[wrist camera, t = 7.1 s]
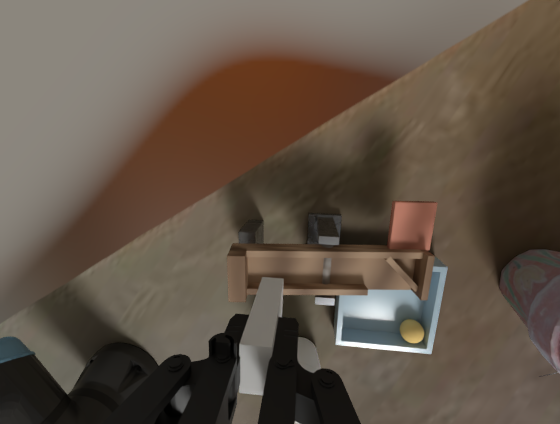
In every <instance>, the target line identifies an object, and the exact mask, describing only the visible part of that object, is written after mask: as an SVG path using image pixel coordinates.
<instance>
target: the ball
mask: <svg viewBox="0 0 560 424" xmlns="http://www.w3.org/2000/svg"><path fill="white" fill-rule="evenodd" d="M400 334H401V336H402V337H403V338H404V339H405V340H406V341H407V342H410V343H419V342H420V341H421V340H422V339H423V337H424V329H423V327H422V326H421V324H420V323H419V322H417V321H415V320H413V319H407V320H404V321H403V322H402V323H401V325H400Z"/></svg>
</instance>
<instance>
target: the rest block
mask: <svg viewBox="0 0 560 424" xmlns="http://www.w3.org/2000/svg"><path fill="white" fill-rule="evenodd" d="M239 243H244V244H263V220H248V222H247V223H246V224H245V225H244V226H243V227H242V229H241V230H240V231H239Z"/></svg>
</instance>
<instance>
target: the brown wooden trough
mask: <svg viewBox="0 0 560 424" xmlns="http://www.w3.org/2000/svg"><path fill="white" fill-rule="evenodd" d="M436 208H437V203H436V202H427V201H393V202H392V210H391V218H390V226H389V234H388V242H387V245H326V244H244V243H233V244H232V246H231V248H230V251H229V253H228V255H227V268H228V298H229V302H246V298H247V295H256V294H257V291H258V288H259V285H260V282H261V279H262V277H270V278H283V279H284V283H283V295H368V290H412V291H413V292H414V294H415V295H416V296H417V297H418V298H419V299H420V300H428V294H429V289H430V283H431V277H432V271H433V266H434V260H435V256H434V255H433V254H431V253H430V252H428V251H427V250H430V244H431V238H432V232H433V226H434V220H435V214H436Z"/></svg>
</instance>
